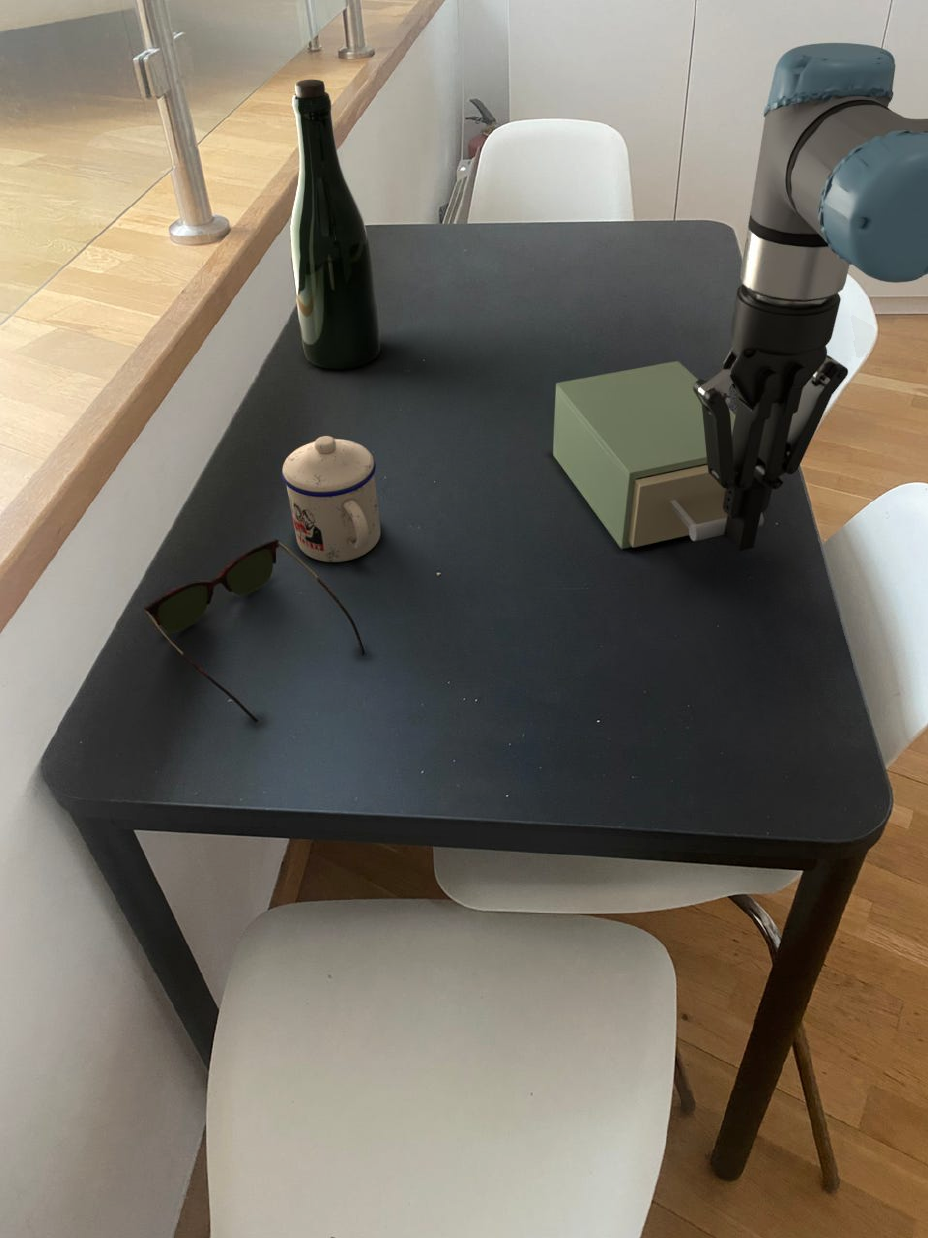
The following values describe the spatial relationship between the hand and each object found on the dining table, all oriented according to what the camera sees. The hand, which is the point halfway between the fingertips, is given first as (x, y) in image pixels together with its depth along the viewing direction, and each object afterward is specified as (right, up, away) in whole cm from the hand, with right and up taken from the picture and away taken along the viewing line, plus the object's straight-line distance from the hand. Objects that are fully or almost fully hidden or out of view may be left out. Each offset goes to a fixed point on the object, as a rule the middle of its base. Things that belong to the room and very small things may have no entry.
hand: (738, 541), depth 84 cm
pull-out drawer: (-4, +5, +12) cm, 14 cm away
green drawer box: (-5, +7, +16) cm, 19 cm away
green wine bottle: (-42, +29, +42) cm, 66 cm away
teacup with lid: (-37, 0, +10) cm, 39 cm away
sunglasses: (-43, -10, -1) cm, 44 cm away
